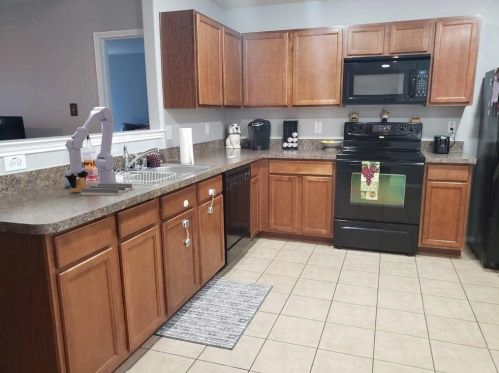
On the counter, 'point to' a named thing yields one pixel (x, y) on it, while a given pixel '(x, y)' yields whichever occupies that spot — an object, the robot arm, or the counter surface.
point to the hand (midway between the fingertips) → (78, 186)
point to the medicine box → (67, 180)
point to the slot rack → (106, 189)
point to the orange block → (79, 185)
